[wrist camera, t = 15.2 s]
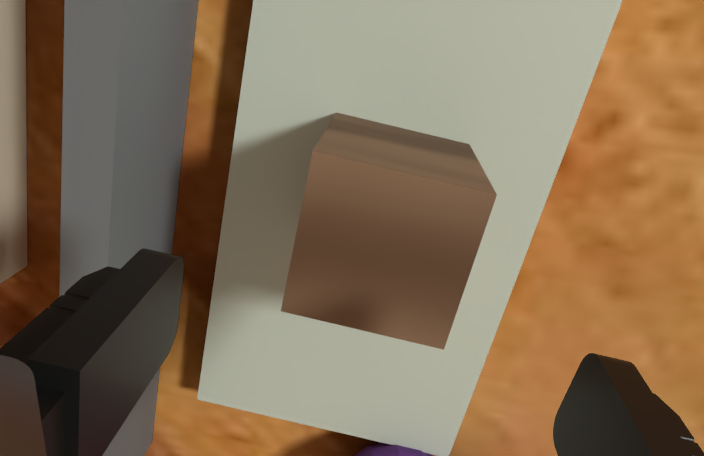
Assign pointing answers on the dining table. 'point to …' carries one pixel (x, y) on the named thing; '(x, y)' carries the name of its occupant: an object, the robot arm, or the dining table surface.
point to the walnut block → (387, 230)
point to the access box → (103, 145)
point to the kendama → (390, 451)
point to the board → (409, 113)
